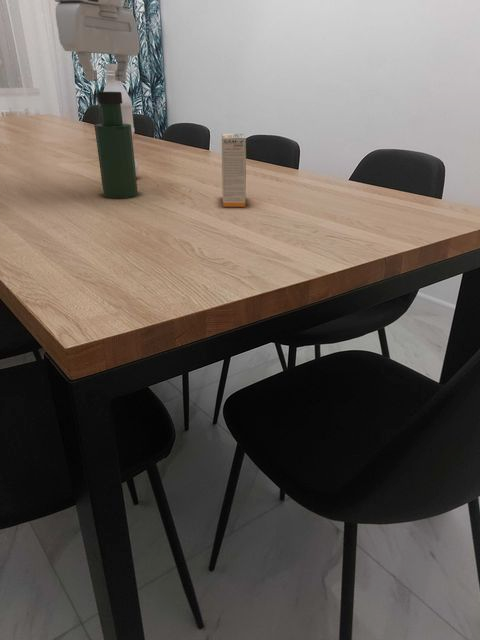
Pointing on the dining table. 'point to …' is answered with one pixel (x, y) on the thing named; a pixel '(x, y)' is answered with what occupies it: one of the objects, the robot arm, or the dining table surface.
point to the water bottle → (126, 105)
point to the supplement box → (234, 170)
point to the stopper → (110, 97)
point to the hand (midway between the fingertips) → (106, 80)
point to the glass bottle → (115, 154)
